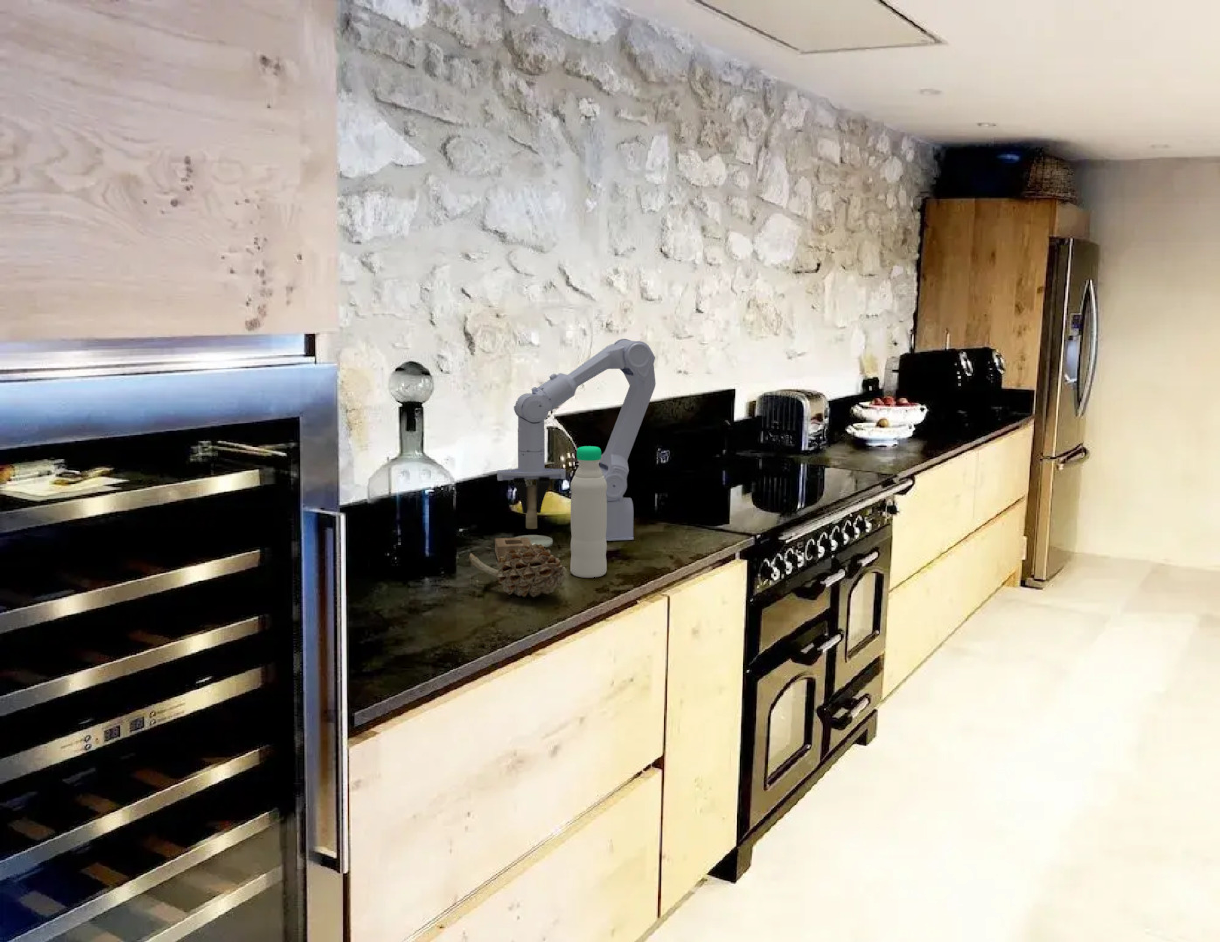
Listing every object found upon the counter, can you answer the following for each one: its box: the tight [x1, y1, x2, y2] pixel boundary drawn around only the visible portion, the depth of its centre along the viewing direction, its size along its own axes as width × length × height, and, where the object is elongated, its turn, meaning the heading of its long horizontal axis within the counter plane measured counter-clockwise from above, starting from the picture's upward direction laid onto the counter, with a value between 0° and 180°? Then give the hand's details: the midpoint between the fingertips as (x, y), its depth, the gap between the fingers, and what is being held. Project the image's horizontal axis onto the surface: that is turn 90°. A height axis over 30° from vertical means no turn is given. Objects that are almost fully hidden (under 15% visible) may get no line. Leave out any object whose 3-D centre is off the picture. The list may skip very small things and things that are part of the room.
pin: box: [525, 485, 538, 530], centre depth 234 cm, size 2×2×9 cm
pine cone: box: [468, 544, 567, 598], centre depth 198 cm, size 22×10×10 cm, turn 61°
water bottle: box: [570, 445, 608, 579], centre depth 210 cm, size 7×7×25 cm
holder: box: [494, 537, 532, 562], centre depth 225 cm, size 7×7×3 cm
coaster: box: [513, 534, 554, 548], centre depth 236 cm, size 9×9×1 cm
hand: (531, 512), depth 234 cm, fingers closed on pin, 2 cm apart
